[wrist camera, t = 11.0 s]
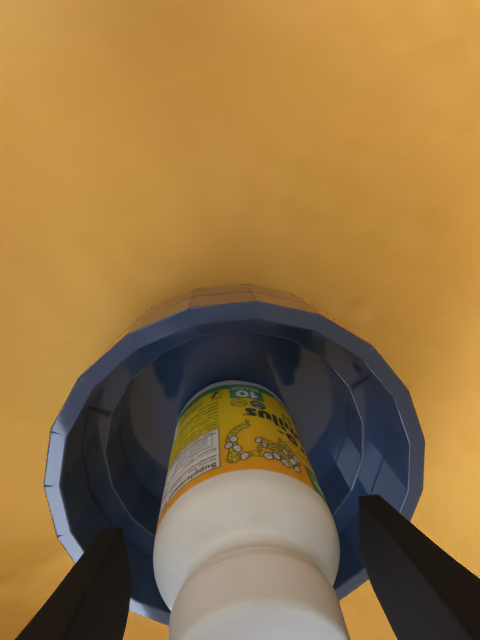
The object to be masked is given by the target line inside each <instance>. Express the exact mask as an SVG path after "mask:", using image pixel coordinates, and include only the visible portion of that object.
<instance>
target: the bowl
mask: <svg viewBox="0 0 480 640" xmlns="http://www.w3.org/2000/svg"><path fill="white" fill-rule="evenodd" d="M228 380H237V381H245V382H251V383H256V384H259V385H261V386H263V387H265V388H267V389H269V390H270V391H271V392H273V393H274V394H275V395H276V396H277V397H278V398H279V399H280V400H281V401H282V402H283V404H284V405H285V407H286V408H287V410H288V412H289V415H290V417H291V419H292V422H293V424H294V426H295V429H296V431H297V434H298V436H299V438H300V441H301V443H302V445H303V448H304V450H305V452H306V455H307V457H308V460H309V463H310V465H311V467H312V469H313V471H314V474H315V476H316V478H317V481H318V483H319V486H320V488H321V490H322V492H323V495H324V497H325V499H326V502H327V504H328V507H329V509H330V511H331V514H332V516H333V519H334V522H335V525H336V528H337V532H338V536H339V543H340V561H339V568H338V572H337V576H336V579H335V582H334V584H333V588H334V590H335V591H336V594H337V596H338V599H339V601H340V600H341V599H342V598H344V597H345V596H347V595H348V594H349V593H351V592H352V591H354V590H355V589H356V588H358V587H359V586H360V585H362V584H363V583H365V582H366V581H367V580H369V577H368V574H367V571H366V568H365V566H364V563H363V560H362V557H361V555H360V552H359V496H366V495H374V494H379V495H380V496H381V497H382V498H383V499H385V500H386V501H387V502H388V503H389V504H390V505H391V506H392V507H394V508H395V509H396V510H397V511H398V512H399V513H400V514H401V515H403V516H404V517H405V518H406V519H407V520H408V521H409V522H410V521H411V519H412V516H413V514H414V511H415V509H416V506H417V504H418V501H419V499H420V496H421V493H422V490H423V476H424V453H425V440H424V436H423V432H422V429H421V426H420V423H419V420H418V417H417V414H416V411H415V408H414V405H413V402H412V399H411V396H410V393H409V390H408V389H407V387H406V386H405V385H404V383H403V382H402V381H401V380H400V379H399V377H398V376H397V375H396V374H395V372H394V371H393V370H392V369H391V367H390V366H389V365H388V364H387V362H386V361H385V360H384V359H383V357H382V356H381V355H380V354H379V353H378V351H377V350H376V349H375V348H374V347H373V346H372V345H371V344H370V343H368V342H367V341H365V340H364V339H363V338H361V337H360V336H358V335H357V334H355V333H354V332H353V331H351V330H350V329H348V328H347V327H345V326H344V325H343V324H341V323H340V322H338V321H337V320H336V319H334V318H332V317H331V316H329V315H328V314H326V313H324V312H323V311H321V310H319V309H318V308H316V307H314V306H313V305H311V304H309V303H308V302H306V301H304V300H303V299H301V298H299V297H298V296H296V295H294V294H289V293H285V292H280V291H276V290H271V289H267V288H262V287H258V286H253V285H249V284H241V285H230V286H220V287H210V288H199V289H196V290H192V291H190V292H187V293H185V294H183V295H180V296H178V297H176V298H173V299H171V300H169V301H167V302H164V303H162V304H160V305H157V306H155V307H153V308H150V310H148V311H146V312H145V313H144V314H143V315H142V316H141V317H140V318H138V319H137V320H136V321H135V322H134V323H133V324H132V325H131V326H130V327H128V328H127V329H126V330H125V331H124V332H123V333H122V334H121V335H120V336H118V337H117V338H116V339H115V340H114V341H113V342H112V343H111V344H110V345H109V346H108V347H107V348H106V349H105V350H104V351H103V352H102V353H101V355H100V356H99V357H98V358H97V359H96V360H95V361H94V362H93V363H92V364H91V365H90V366H89V367H88V368H87V369H86V370H85V371H84V372H83V373H82V374H81V375H80V377H79V378H78V379H77V381H76V383H75V385H74V386H73V388H72V390H71V392H70V394H69V396H68V398H67V399H66V401H65V403H64V405H63V407H62V409H61V411H60V412H59V414H58V416H57V418H56V420H55V422H54V424H53V426H52V427H51V431H50V437H49V445H48V453H47V461H46V469H45V477H44V489H45V493H46V497H47V501H48V505H49V509H50V513H51V516H52V520H53V524H54V528H55V532H56V535H57V538H58V540H59V541H60V543H61V544H62V545H63V547H64V548H65V550H66V551H67V553H68V554H69V556H70V557H71V558H72V560H73V561H74V563H75V564H76V562H77V561H78V560H79V558H80V557H81V556H82V554H83V553H84V551H85V550H86V549H87V547H88V546H89V545H90V543H91V542H92V541H93V539H94V538H95V537H96V535H97V534H98V533H99V532H100V530H101V529H109V528H117V527H122V530H123V535H124V540H125V545H126V550H127V555H128V560H129V565H130V570H131V574H132V579H133V584H132V591H131V598H130V605H129V611H130V612H133V613H136V614H138V615H141V616H144V617H146V618H149V619H152V620H154V621H157V622H160V623H162V624H165V625H168V626H169V619H170V614H171V610H170V609H169V608H168V606H167V605H166V603H165V602H164V600H163V598H162V596H161V594H160V592H159V589H158V587H157V583H156V580H155V575H154V568H153V551H154V542H155V536H156V530H157V524H158V519H159V513H160V508H161V503H162V497H163V492H164V487H165V482H166V477H167V472H168V466H169V461H170V456H171V450H172V445H173V439H174V434H175V430H176V425H177V422H178V419H179V416H180V414H181V412H182V410H183V409H184V407H185V405H186V404H187V403H188V401H189V400H190V399H191V398H192V397H193V396H194V395H195V394H197V393H198V392H199V391H201V390H202V389H204V388H205V387H207V386H209V385H211V384H214V383H218V382H222V381H228Z"/></svg>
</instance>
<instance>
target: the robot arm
mask: <svg viewBox="0 0 480 640" xmlns="http://www.w3.org/2000/svg"><path fill="white" fill-rule="evenodd" d="M359 552H360V555H361V557H362V560H363V563H364V566H365V568H366V571H367V574H368V577H369V579H370V582H371V584H372V587H373V590H374V592H375V594H376V596H377V598H378V600H379V602H380V604H381V606H382V608H383V610H384V613H385V615H386V617H387V619H388V621H389V623H390V625H391V627H392V629H393V631H394V633H395V635H396V637H397V639H398V640H480V579H479V578H478V577H477V576H475V575H474V574H473V573H471V572H470V571H469V570H467V569H466V568H465V567H464V566H462V565H461V564H460V563H458V562H457V561H456V560H455V559H453V558H452V557H451V556H450V555H448V554H447V553H446V552H445V551H443V550H442V549H441V548H440V547H439V546H437V545H436V544H435V543H434V542H433V541H431V540H430V539H429V538H428V537H427V536H425V535H424V534H423V533H422V532H421V531H420V530H418V529H417V528H416V527H415V526H414V525H413V524H412V523H410V522H409V521H408V520H407V519H406V518H405V517H404V516H403V515H401V514H400V513H399V512H398V511H397V510H396V509H395V508H394V507H392V506H391V505H390V504H389V503H388V502H387V501H386V500H385V499H383V498H382V497H381V496H380V495H379V494H374V495H366V496H359ZM132 584H133V579H132V574H131V570H130V565H129V560H128V555H127V550H126V545H125V540H124V535H123V530H122V527H117V528H109V529H101V530H100V532H99V533H98V534H97V535H96V537H95V538H94V539H93V541H92V542H91V543H90V545H89V546H88V547H87V549H86V550H85V551H84V553H83V554H82V556H81V557H80V558H79V560H78V561H77V562H76V564H75V565H74V566H73V568H72V569H71V570H70V572H69V573H68V574H67V576H66V577H65V578H64V580H63V581H62V582H61V583H60V585H59V586H58V587H57V589H56V590H55V591H54V592H53V594H52V595H51V596H50V598H49V599H48V600H47V601H46V603H45V604H44V605H43V606H42V608H41V609H40V610H39V611H38V613H37V614H36V615H35V616H34V617H33V619H32V620H31V621H30V622H29V623H28V625H27V626H26V627H25V628H24V629H23V631H22V632H21V633H20V634H19V635H18V637H17V638H16V639H15V640H123V636H124V632H125V627H126V623H127V617H128V611H129V605H130V598H131V591H132Z"/></svg>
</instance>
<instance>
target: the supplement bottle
mask: <svg viewBox="0 0 480 640" xmlns="http://www.w3.org/2000/svg"><path fill="white" fill-rule="evenodd" d="M339 561H340V543H339V536H338V532H337V528H336V525H335V522H334V519H333V516H332V514H331V511H330V509H329V507H328V504H327V502H326V499H325V497H324V495H323V492H322V490H321V488H320V486H319V483H318V481H317V478H316V476H315V474H314V471H313V469H312V467H311V465H310V463H309V460H308V457H307V455H306V452H305V450H304V448H303V445H302V443H301V441H300V438H299V436H298V434H297V431H296V429H295V426H294V424H293V422H292V419H291V417H290V415H289V412H288V410H287V408H286V407H285V405H284V404H283V402H282V401H281V400H280V399H279V398H278V397H277V396H276V395H275V394H274V393H273V392H271V391H270V390H269V389H267V388H265V387H263V386H261V385H259V384H256V383H251V382H245V381H237V380H228V381H222V382H218V383H214V384H211V385H209V386H207V387H205V388H204V389H202V390H201V391H199V392H198V393H197V394H195V395H194V396H193V397H192V398H191V399H190V400H189V401H188V403H187V404H186V405H185V407H184V409H183V410H182V412H181V414H180V416H179V419H178V422H177V425H176V430H175V434H174V439H173V445H172V450H171V456H170V461H169V466H168V472H167V477H166V482H165V487H164V492H163V497H162V503H161V508H160V513H159V519H158V524H157V530H156V536H155V542H154V551H153V568H154V575H155V580H156V583H157V587H158V589H159V592H160V594H161V596H162V598H163V600H164V602H165V603H166V605H167V606H168V608H169V609H170V610H171V614H170V619H169V638H168V640H350V637H349V634H348V631H347V628H346V624H345V621H344V618H343V614H342V611H341V607H340V603H339V599H338V596H337V594H336V591H335V590H334V588H333V584H334V582H335V579H336V576H337V572H338V568H339Z"/></svg>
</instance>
